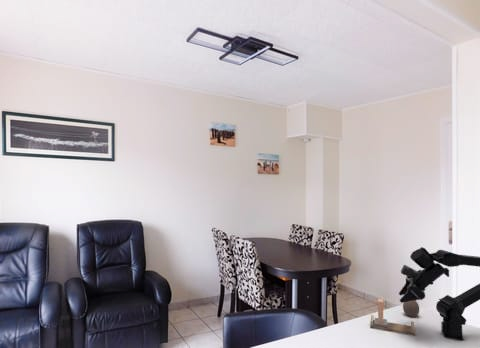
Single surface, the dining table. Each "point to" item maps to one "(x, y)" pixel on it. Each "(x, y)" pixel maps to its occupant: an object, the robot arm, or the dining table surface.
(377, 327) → the fader track
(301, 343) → the dining table surface
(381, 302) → the fader
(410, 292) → the robot arm
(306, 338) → the dining table surface
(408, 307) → the vase
